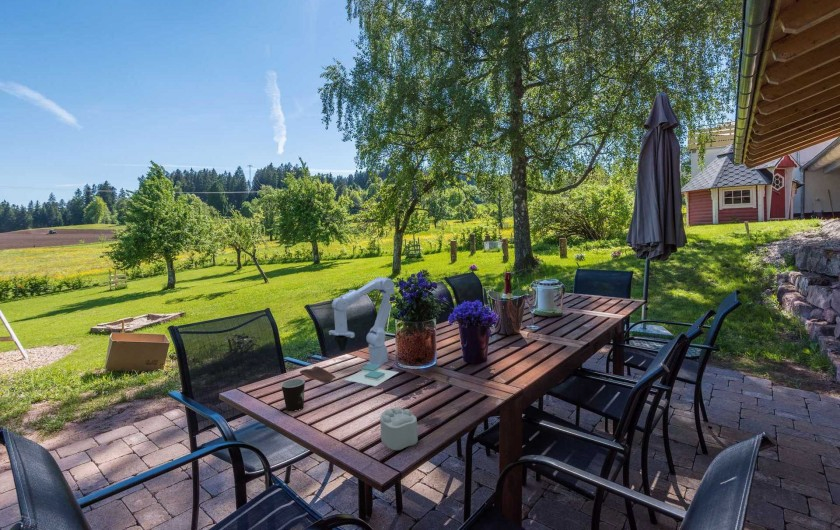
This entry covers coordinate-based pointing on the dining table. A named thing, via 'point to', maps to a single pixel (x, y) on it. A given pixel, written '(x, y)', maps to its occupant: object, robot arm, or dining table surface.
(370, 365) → the flat tile
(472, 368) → the dining table surface
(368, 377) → the tile
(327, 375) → the wooden tablet
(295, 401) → the coffee mug
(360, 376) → the felt mat
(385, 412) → the lumpy-topped squat cylinder
